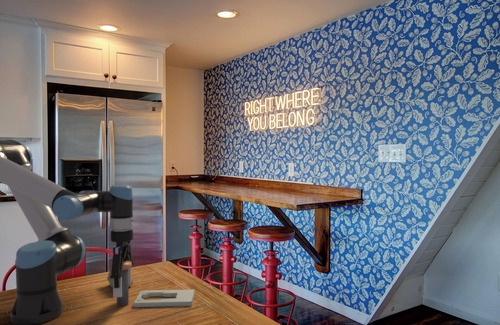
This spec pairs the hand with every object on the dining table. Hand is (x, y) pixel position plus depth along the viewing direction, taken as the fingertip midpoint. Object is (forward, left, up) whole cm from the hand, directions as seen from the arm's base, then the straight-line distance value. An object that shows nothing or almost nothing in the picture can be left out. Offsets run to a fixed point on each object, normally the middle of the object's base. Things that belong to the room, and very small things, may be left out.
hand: (122, 290), depth 139 cm
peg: (0, 0, -5) cm, 5 cm away
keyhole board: (+14, +3, -5) cm, 16 cm away
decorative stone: (-5, +19, -5) cm, 21 cm away
